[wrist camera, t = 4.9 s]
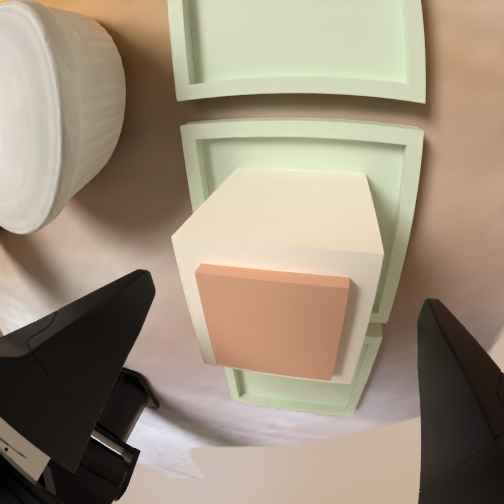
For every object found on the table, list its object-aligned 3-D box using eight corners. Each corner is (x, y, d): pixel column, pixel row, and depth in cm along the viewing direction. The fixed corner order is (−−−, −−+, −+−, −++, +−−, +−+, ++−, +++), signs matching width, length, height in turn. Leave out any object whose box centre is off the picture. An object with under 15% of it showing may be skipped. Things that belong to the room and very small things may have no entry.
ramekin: (1, 94, 13) (-59, 118, 9) (90, -36, 8) (10, -45, 3) (69, 220, 17) (12, 266, 13) (192, 119, 12) (113, 152, 7)
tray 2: (385, 309, 14) (387, 323, 13) (216, 292, 16) (210, 304, 16) (416, 126, 9) (424, 131, 9) (190, 121, 12) (180, 125, 11)
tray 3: (352, 405, 20) (351, 416, 19) (236, 389, 22) (232, 400, 21) (381, 323, 15) (382, 337, 14) (219, 305, 17) (213, 317, 16)
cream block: (353, 280, 13) (349, 394, 8) (247, 270, 15) (200, 371, 10) (365, 173, 11) (386, 264, 6) (237, 168, 12) (163, 245, 7)
